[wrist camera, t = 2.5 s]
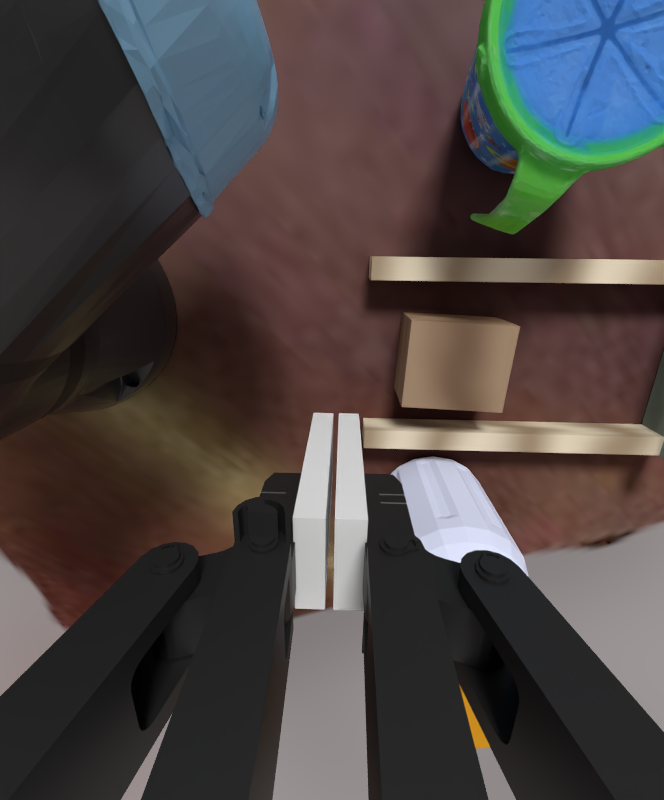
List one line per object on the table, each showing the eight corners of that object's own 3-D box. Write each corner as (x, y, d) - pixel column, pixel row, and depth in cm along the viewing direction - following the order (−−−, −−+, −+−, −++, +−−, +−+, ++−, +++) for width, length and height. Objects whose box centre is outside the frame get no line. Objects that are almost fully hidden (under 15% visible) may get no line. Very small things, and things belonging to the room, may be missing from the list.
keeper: (393, 387, 32) (401, 406, 28) (402, 311, 30) (411, 320, 26) (481, 392, 32) (502, 412, 28) (495, 316, 30) (520, 326, 26)
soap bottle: (369, 462, 34) (422, 889, 11) (477, 447, 33) (774, 872, 10) (383, 547, 37) (448, 1024, 14) (483, 534, 36) (725, 1018, 13)
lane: (362, 434, 33) (365, 463, 29) (369, 256, 29) (374, 256, 24) (655, 441, 33) (707, 472, 28) (712, 260, 28) (786, 261, 23)
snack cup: (513, -90, 22) (639, -349, 13) (668, 4, 23) (890, -169, 14) (388, 196, 27) (411, 163, 18) (520, 261, 28) (610, 264, 19)
